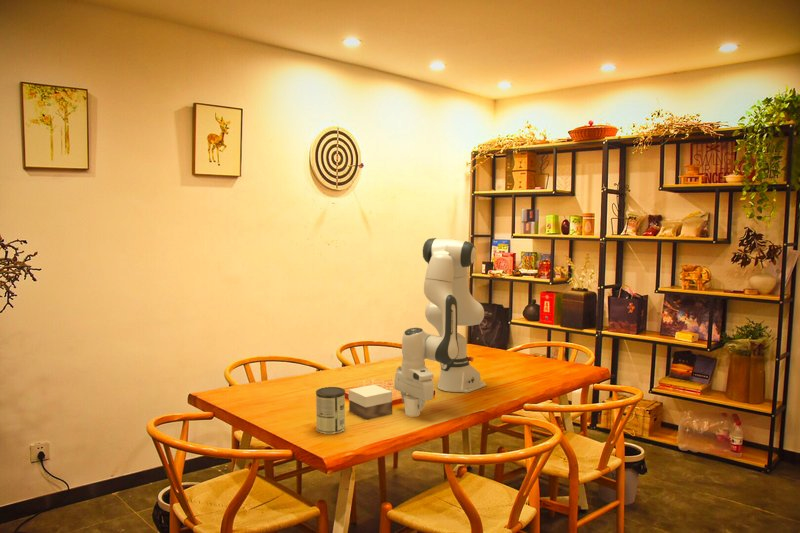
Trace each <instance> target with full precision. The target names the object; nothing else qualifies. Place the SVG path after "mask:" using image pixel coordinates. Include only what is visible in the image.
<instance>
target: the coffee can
mask: <svg viewBox="0 0 800 533" xmlns="http://www.w3.org/2000/svg"><path fill="white" fill-rule="evenodd" d="M315 394H316V397H315V398H316V399H315V401H316V402H315V403H316V410H315V411H316V432H317V433H319V432H320V433H319V434H322V433H324V435H335V433H337V434H340V433H343V432H344V431H345V429H346V415H345V414H346V406H345V405H346V402H345V401H346V399H345V397H346V395H345V394H346V390H345V388H342V387H337V386H328V387H327V386H326V387H321V388H319V389H316V391H315ZM342 431H343V432H342Z"/></svg>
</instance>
